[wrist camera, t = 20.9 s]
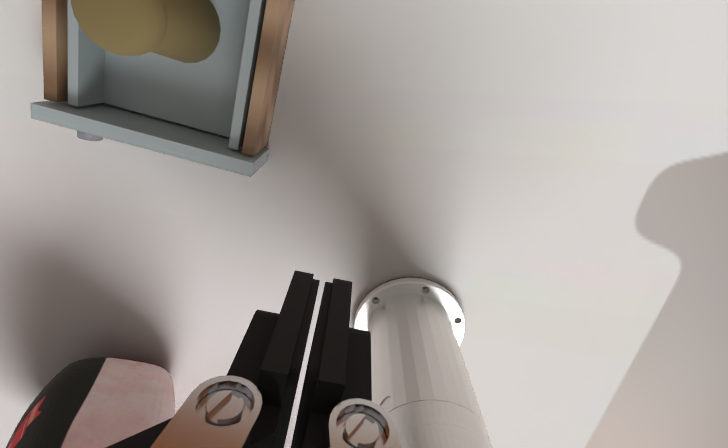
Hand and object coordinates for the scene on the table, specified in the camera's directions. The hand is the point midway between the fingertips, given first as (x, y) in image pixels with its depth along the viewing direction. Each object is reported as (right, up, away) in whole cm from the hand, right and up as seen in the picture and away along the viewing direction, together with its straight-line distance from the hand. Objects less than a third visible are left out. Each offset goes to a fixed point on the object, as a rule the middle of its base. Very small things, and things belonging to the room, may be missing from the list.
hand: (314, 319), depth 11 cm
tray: (-14, +18, +23) cm, 33 cm away
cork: (-14, +20, +22) cm, 32 cm away
